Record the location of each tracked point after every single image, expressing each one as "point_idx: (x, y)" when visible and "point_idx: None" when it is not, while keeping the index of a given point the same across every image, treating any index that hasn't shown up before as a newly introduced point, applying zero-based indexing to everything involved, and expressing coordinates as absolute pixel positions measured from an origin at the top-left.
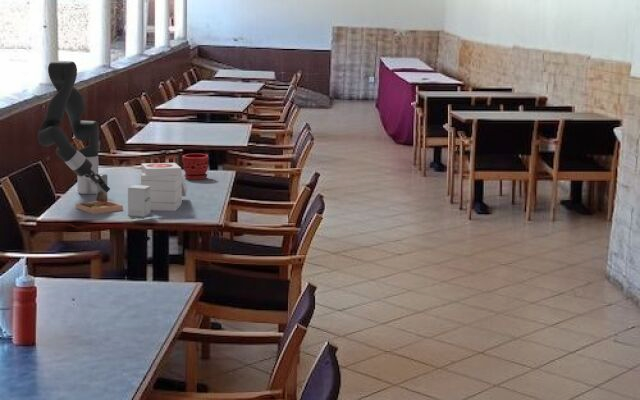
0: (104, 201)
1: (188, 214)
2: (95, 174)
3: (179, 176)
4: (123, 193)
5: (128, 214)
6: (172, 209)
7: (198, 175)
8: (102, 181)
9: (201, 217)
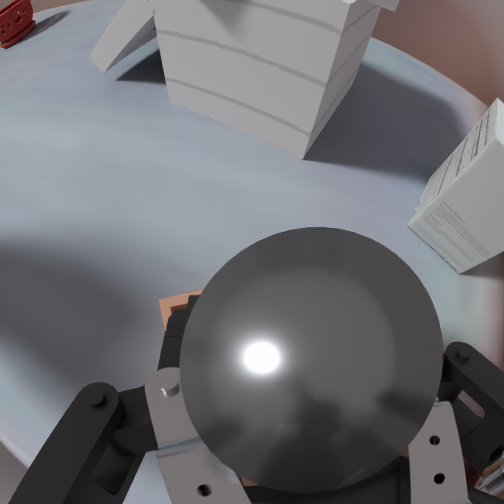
0: (171, 310)
1: (408, 89)
2: (492, 499)
3: None
4: None
5: (468, 268)
6: (350, 86)
7: (27, 26)
8: (461, 378)
9: (440, 90)
